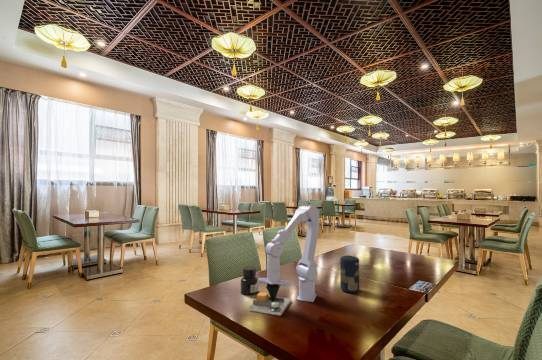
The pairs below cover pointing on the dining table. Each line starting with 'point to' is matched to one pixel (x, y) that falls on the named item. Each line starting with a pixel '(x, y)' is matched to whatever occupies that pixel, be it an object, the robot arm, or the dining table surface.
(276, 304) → the button
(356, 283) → the canister
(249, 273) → the ink bottle
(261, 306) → the panel
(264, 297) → the toggle
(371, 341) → the dining table surface
